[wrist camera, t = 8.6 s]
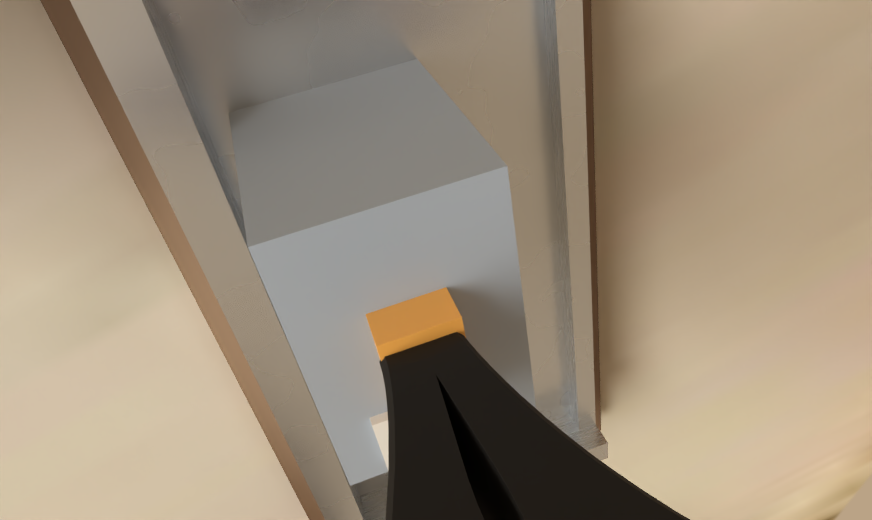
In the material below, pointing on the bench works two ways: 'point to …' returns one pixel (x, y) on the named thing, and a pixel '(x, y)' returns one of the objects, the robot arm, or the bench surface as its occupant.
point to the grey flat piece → (338, 60)
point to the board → (169, 226)
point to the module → (379, 241)
